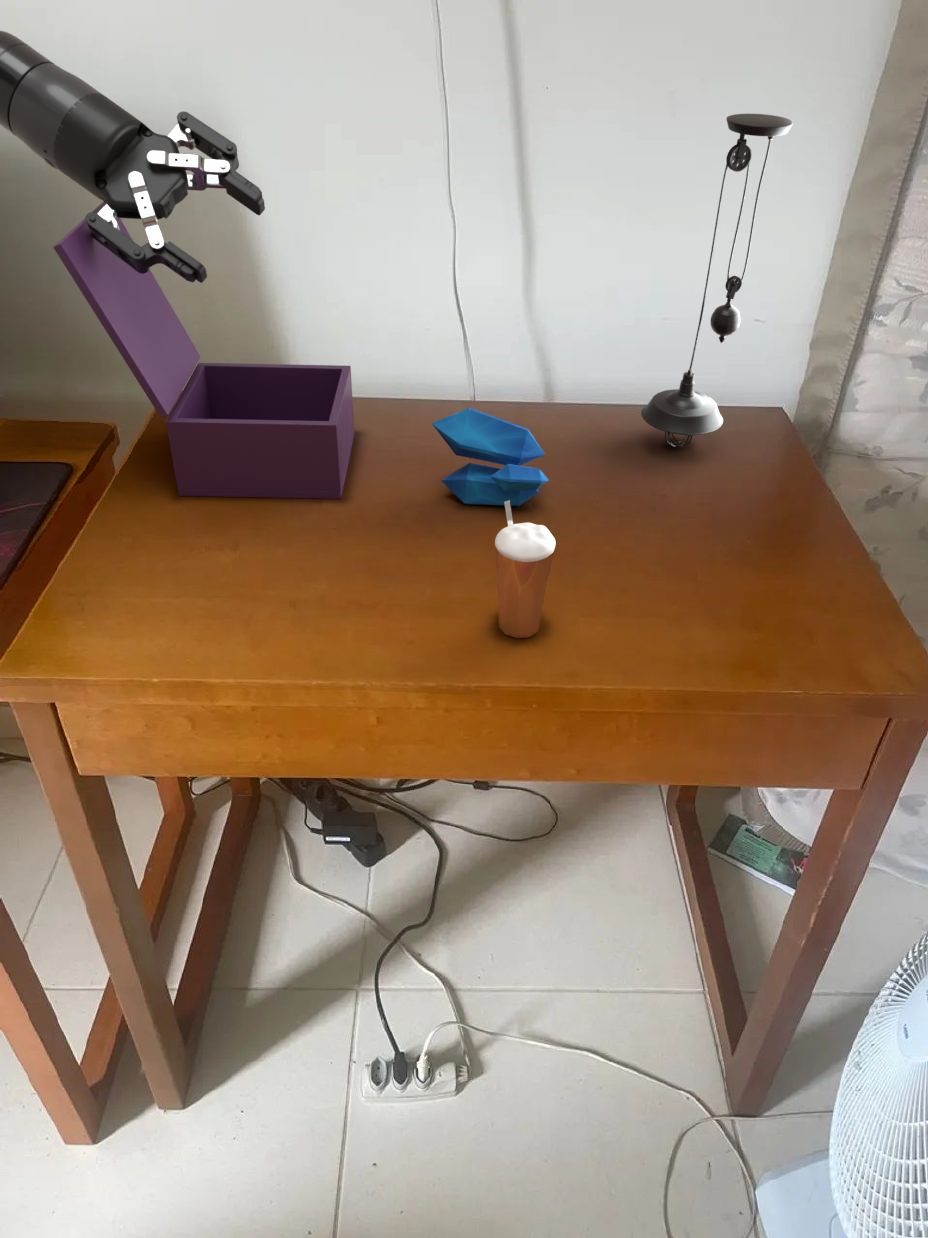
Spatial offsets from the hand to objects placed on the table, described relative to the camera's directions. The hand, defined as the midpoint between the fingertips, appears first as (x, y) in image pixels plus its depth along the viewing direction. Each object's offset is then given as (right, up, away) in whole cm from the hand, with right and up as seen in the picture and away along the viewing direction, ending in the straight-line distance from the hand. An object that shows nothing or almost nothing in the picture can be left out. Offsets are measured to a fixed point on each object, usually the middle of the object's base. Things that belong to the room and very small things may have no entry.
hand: (233, 240), depth 86 cm
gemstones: (+23, -22, +9) cm, 33 cm away
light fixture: (+44, -15, +19) cm, 50 cm away
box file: (+1, -17, +14) cm, 22 cm away
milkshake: (+24, -34, -7) cm, 42 cm away
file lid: (-10, -4, +4) cm, 11 cm away
